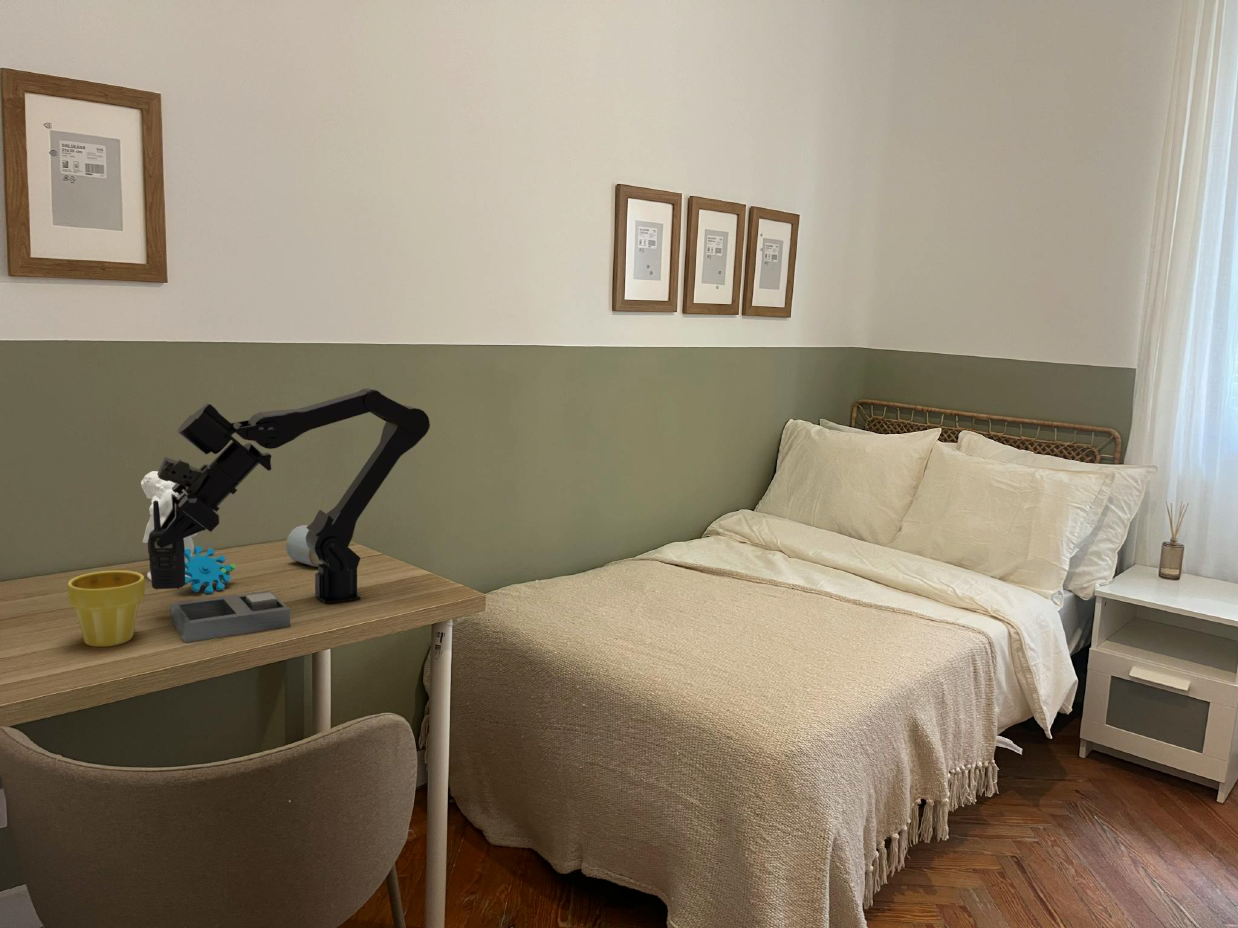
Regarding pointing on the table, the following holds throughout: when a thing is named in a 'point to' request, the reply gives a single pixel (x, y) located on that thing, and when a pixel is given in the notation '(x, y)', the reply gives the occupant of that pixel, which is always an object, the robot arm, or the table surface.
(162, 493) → the cherub figurine
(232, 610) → the grey charging dock
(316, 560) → the ceramic mug
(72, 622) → the table surface
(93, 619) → the plant pot
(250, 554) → the table surface
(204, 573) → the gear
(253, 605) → the steel block
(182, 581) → the two-way radio
